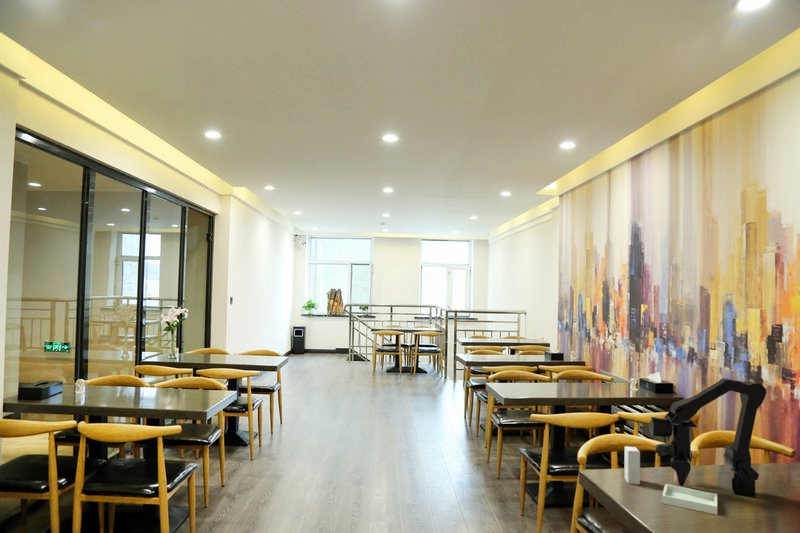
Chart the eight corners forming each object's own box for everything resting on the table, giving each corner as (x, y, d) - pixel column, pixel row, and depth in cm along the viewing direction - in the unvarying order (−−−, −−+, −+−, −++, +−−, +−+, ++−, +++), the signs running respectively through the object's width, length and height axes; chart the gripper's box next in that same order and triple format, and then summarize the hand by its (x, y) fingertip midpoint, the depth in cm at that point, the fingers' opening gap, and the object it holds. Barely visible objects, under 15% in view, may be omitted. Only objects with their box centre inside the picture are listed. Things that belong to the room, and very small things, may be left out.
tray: (717, 501, 170) (717, 493, 170) (717, 514, 159) (717, 506, 159) (665, 490, 178) (665, 483, 178) (662, 503, 168) (662, 495, 168)
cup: (690, 487, 183) (689, 467, 183) (689, 491, 178) (689, 471, 179) (674, 484, 185) (674, 464, 186) (673, 488, 181) (673, 468, 181)
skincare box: (640, 485, 183) (640, 451, 184) (628, 483, 184) (627, 450, 185) (636, 479, 189) (636, 446, 190) (624, 478, 190) (623, 445, 191)
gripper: (659, 429, 195) (659, 470, 194) (654, 440, 179) (654, 485, 178) (692, 433, 189) (692, 476, 188) (690, 445, 173) (690, 492, 172)
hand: (681, 481), depth 182 cm, fingers open, 9 cm apart
